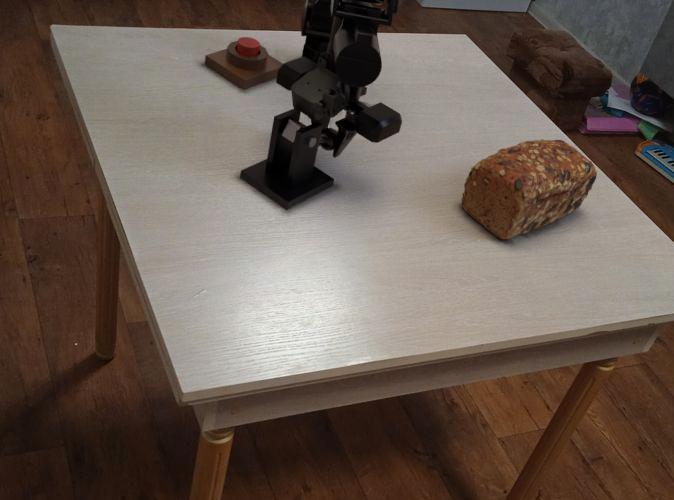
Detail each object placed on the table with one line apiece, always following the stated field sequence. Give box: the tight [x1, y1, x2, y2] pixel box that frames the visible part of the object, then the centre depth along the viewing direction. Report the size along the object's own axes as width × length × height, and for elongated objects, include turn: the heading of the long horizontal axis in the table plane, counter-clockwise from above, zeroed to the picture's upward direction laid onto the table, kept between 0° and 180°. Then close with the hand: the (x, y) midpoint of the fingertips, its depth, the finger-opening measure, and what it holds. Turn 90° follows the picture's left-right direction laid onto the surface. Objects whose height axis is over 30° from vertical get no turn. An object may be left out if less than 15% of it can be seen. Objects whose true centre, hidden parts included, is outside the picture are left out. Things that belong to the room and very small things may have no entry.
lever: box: [282, 119, 338, 152], centre depth 115 cm, size 12×3×3 cm, turn 140°
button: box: [237, 36, 261, 57], centre depth 135 cm, size 4×4×2 cm
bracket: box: [239, 108, 335, 210], centre depth 114 cm, size 10×9×10 cm
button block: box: [204, 40, 284, 90], centre depth 136 cm, size 10×9×4 cm
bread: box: [460, 138, 598, 240], centre depth 121 cm, size 19×11×10 cm, turn 130°
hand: (326, 151), depth 121 cm, fingers closed on lever, 3 cm apart
